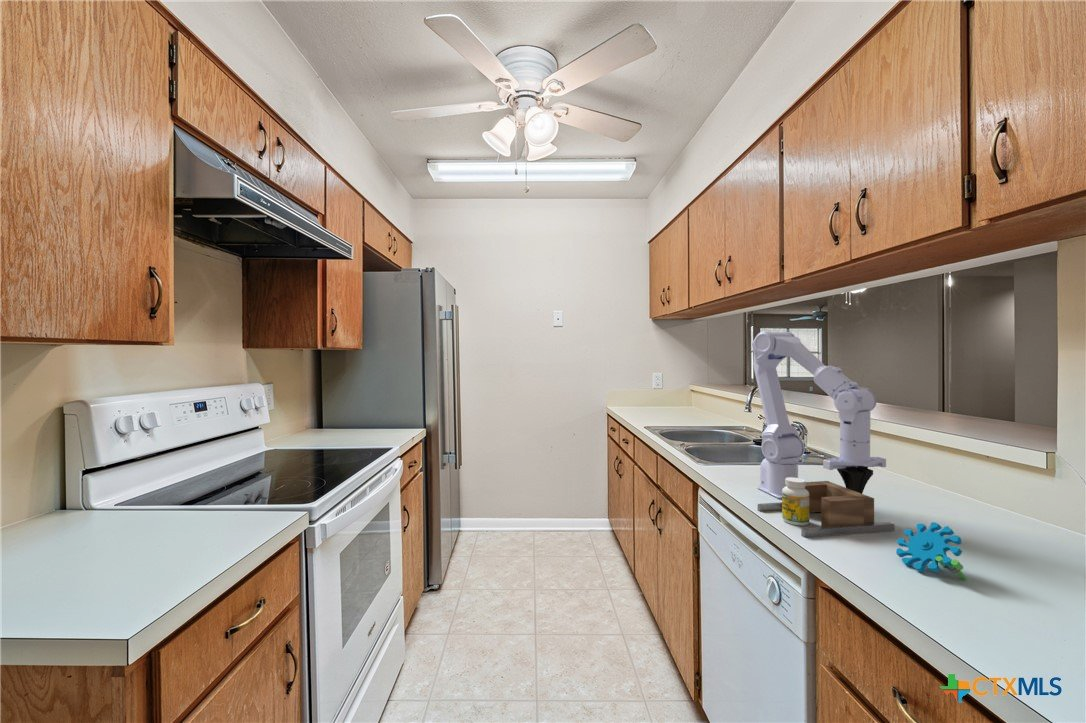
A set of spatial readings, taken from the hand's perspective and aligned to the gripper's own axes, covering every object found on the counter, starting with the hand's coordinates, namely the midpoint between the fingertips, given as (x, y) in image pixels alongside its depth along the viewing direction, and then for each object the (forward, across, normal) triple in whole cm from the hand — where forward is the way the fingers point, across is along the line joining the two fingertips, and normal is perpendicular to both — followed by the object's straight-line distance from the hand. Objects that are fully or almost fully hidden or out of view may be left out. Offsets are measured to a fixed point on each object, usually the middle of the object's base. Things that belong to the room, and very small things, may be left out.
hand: (854, 498), depth 102 cm
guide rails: (+4, -8, 0) cm, 9 cm away
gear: (+5, -7, -23) cm, 24 cm away
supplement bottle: (+5, -15, 0) cm, 16 cm away
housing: (+4, -7, 0) cm, 8 cm away
